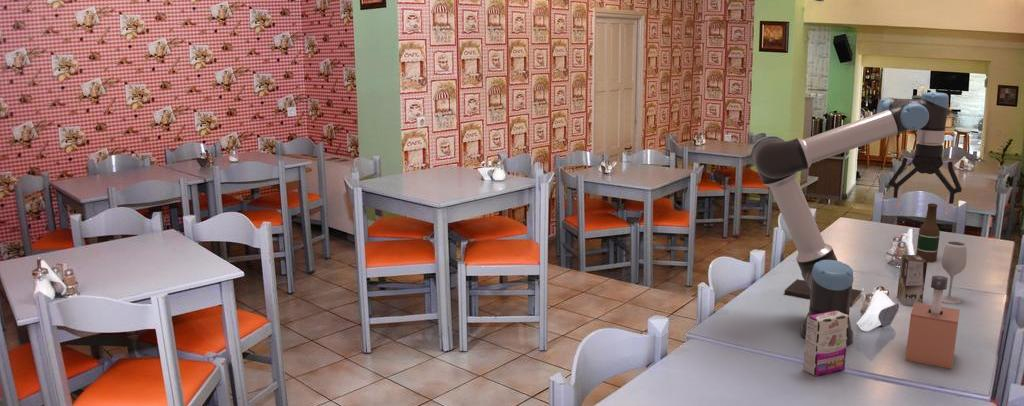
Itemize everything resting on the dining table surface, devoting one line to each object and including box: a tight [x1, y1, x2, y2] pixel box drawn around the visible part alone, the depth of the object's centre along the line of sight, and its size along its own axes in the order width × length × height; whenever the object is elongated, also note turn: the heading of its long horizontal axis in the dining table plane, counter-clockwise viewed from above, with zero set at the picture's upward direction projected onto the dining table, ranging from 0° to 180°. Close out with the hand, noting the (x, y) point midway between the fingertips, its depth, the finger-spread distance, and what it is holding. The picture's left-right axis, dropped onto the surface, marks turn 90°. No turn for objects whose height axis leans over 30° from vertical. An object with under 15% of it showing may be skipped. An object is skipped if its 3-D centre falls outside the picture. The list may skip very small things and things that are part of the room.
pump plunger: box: [930, 275, 949, 314], centre depth 232 cm, size 8×4×22 cm, turn 149°
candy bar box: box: [802, 311, 850, 377], centre depth 225 cm, size 11×5×16 cm, turn 114°
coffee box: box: [896, 254, 929, 306], centre depth 283 cm, size 9×6×16 cm
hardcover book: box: [784, 278, 862, 308], centre depth 291 cm, size 16×23×2 cm
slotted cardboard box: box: [905, 302, 961, 369], centre depth 235 cm, size 12×12×14 cm
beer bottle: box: [915, 202, 941, 263], centre depth 334 cm, size 8×8×24 cm
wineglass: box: [941, 240, 968, 305], centre depth 284 cm, size 8×8×21 cm
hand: (921, 211), depth 251 cm, fingers open, 13 cm apart
